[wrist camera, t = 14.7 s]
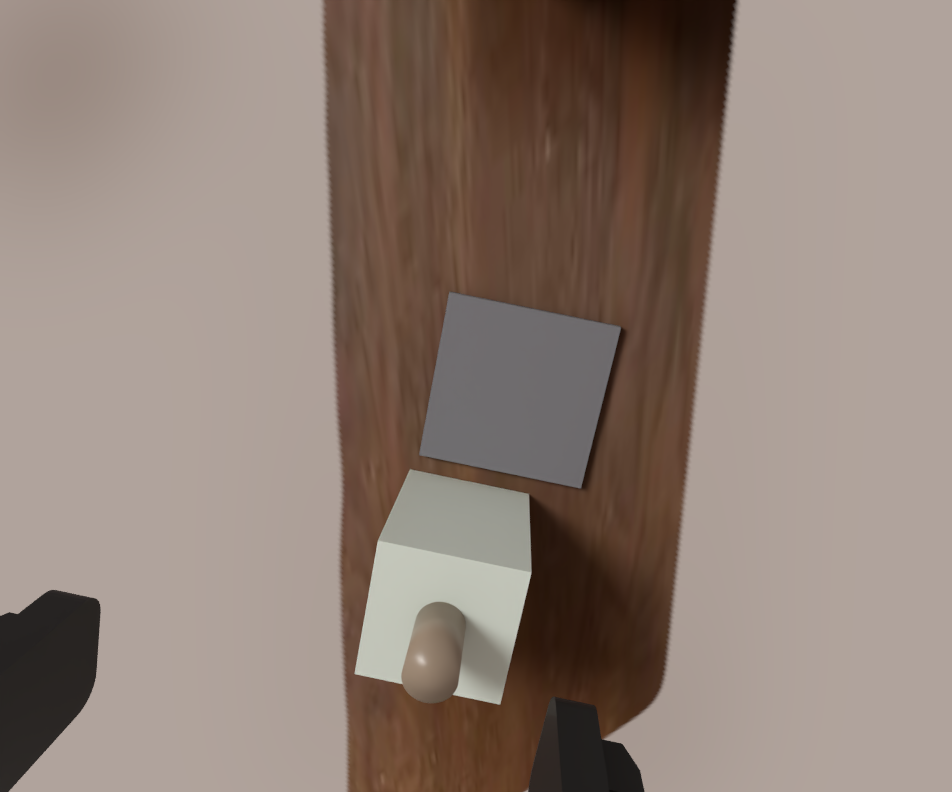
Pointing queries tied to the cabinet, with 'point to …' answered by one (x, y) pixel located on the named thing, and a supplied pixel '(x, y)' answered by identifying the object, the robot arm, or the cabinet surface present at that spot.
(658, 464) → the cabinet surface
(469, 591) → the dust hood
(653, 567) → the cabinet surface
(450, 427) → the mat
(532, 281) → the cabinet surface
